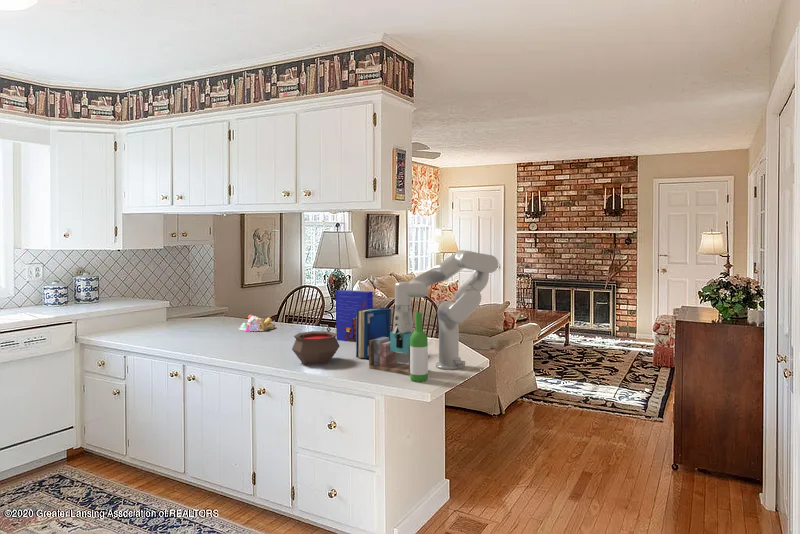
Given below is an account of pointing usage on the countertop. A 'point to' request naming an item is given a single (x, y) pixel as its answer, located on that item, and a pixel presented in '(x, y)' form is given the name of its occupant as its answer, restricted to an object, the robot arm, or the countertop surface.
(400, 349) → the teal book
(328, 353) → the brown bowl
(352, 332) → the cereal box
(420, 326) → the wine bottle
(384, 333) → the book
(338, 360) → the countertop surface
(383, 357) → the shelf
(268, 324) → the candy landscape model
